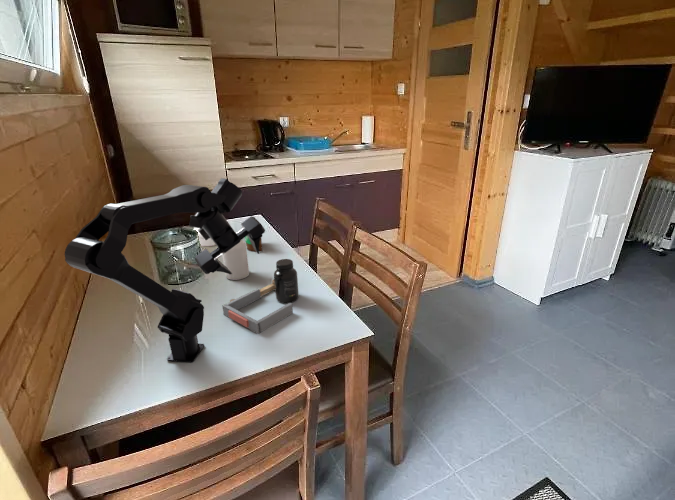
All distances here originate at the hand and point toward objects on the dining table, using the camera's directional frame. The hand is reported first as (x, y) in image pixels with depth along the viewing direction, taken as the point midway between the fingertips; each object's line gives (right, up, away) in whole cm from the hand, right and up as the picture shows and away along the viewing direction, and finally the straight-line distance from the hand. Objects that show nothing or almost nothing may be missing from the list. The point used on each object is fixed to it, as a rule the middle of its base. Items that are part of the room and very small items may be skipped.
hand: (244, 262), depth 104 cm
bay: (+4, -14, +2) cm, 15 cm away
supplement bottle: (+11, -11, +10) cm, 18 cm away
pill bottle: (-9, -5, +25) cm, 27 cm away
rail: (+1, -11, +10) cm, 15 cm away
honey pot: (-29, +7, +57) cm, 64 cm away
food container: (-9, +4, +47) cm, 48 cm away
